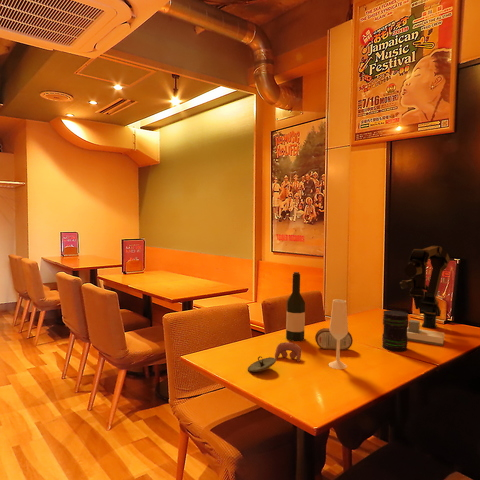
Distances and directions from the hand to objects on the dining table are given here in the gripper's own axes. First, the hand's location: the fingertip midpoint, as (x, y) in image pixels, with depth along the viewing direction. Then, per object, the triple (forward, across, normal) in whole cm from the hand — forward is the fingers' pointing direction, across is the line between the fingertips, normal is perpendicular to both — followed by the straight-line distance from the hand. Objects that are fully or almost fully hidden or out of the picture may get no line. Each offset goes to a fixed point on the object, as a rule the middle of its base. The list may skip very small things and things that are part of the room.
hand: (418, 307), depth 184 cm
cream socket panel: (+12, +13, 0) cm, 18 cm away
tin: (+12, +48, -26) cm, 56 cm away
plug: (+11, +13, 0) cm, 17 cm away
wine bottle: (+12, +44, -45) cm, 64 cm away
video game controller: (+12, +68, -37) cm, 79 cm away
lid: (+12, +84, -40) cm, 94 cm away
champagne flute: (+12, +65, -19) cm, 69 cm away
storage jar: (+12, +32, -5) cm, 35 cm away
